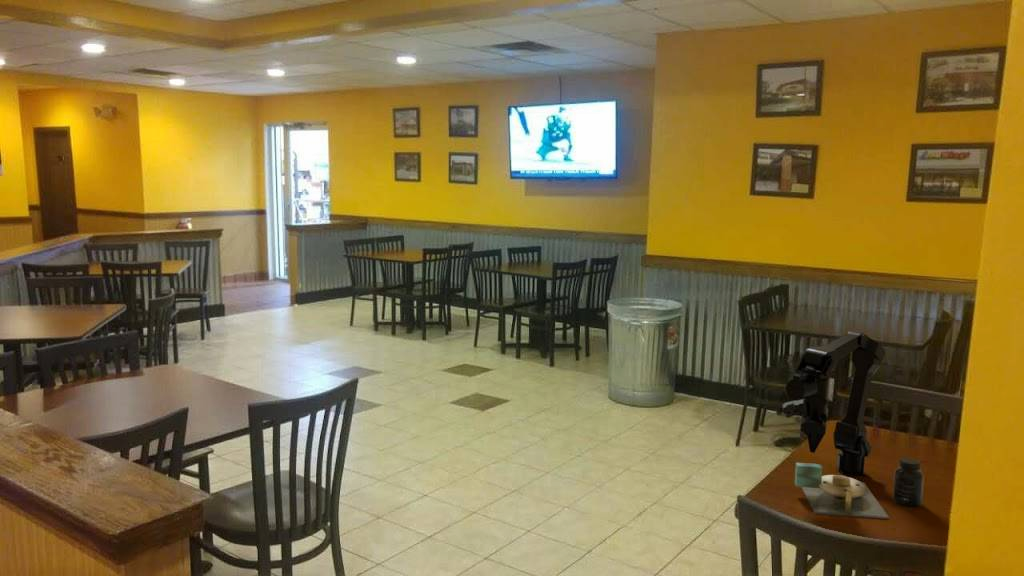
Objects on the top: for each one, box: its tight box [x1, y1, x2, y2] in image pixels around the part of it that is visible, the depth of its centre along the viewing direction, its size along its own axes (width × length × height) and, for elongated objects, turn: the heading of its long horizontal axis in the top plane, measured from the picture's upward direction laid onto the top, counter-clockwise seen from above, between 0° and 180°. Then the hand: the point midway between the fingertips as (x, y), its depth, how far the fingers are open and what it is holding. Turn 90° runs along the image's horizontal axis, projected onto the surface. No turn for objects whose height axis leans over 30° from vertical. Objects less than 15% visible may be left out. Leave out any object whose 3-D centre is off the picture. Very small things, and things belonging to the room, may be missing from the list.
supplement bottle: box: [892, 457, 925, 509], centre depth 196 cm, size 7×7×12 cm
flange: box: [794, 462, 866, 498], centre depth 199 cm, size 18×12×6 cm
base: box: [800, 481, 890, 520], centre depth 199 cm, size 18×22×6 cm
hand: (813, 447), depth 204 cm, fingers open, 8 cm apart
